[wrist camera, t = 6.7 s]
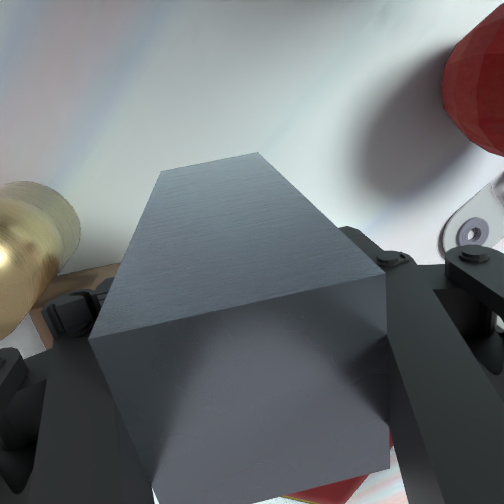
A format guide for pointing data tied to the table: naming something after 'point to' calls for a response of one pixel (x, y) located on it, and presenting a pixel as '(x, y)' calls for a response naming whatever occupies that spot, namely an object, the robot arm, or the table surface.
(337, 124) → the table surface
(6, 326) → the round bit
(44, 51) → the table surface
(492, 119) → the apple
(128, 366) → the square bit
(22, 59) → the table surface
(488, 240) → the bracket
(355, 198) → the table surface
